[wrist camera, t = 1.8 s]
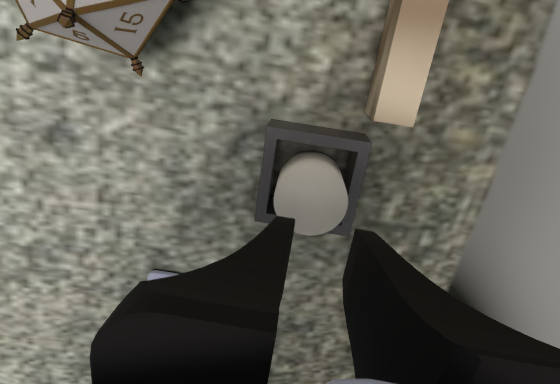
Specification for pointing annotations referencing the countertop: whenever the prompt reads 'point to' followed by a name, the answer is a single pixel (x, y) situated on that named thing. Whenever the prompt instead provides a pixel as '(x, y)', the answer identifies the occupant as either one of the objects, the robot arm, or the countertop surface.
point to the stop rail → (404, 60)
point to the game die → (97, 23)
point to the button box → (319, 137)
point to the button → (311, 193)
